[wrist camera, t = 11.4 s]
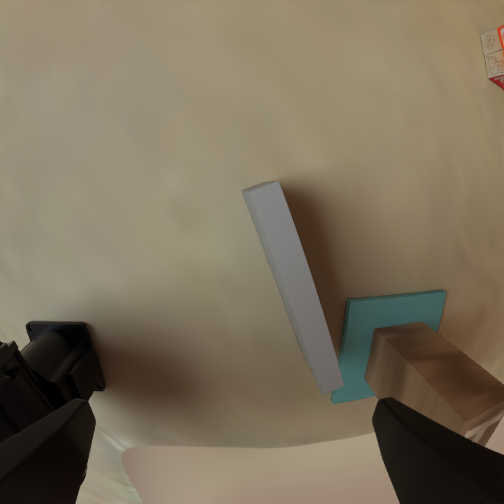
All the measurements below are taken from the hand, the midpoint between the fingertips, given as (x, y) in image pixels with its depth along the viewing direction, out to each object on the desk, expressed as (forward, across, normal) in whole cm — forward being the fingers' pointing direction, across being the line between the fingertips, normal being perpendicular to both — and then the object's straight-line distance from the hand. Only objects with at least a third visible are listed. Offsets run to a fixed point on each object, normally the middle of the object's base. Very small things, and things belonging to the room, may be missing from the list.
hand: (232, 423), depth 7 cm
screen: (+13, -4, 0) cm, 14 cm away
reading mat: (+14, -14, +7) cm, 20 cm away
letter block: (+13, -14, +7) cm, 20 cm away
